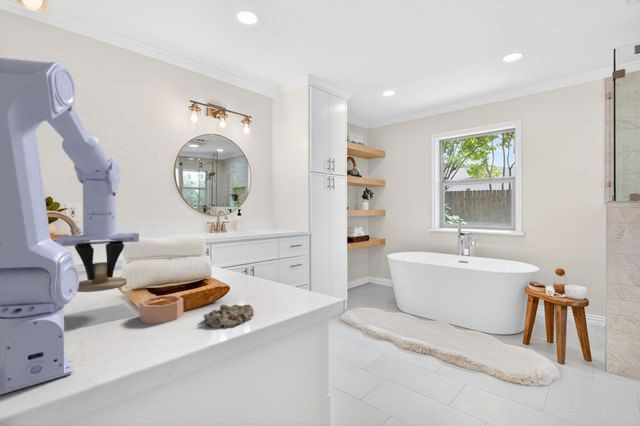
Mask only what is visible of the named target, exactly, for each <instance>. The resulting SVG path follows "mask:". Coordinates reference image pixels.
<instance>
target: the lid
mask: <svg viewBox="0 0 640 426" xmlns="http://www.w3.org/2000/svg"><path fill="white" fill-rule="evenodd" d="M93 273H94V278H93V280H88V279H84V280H81V281H80V280H79V286H78V290H77V293H93V292H102V291H109V290H114V289H119V288H121V287H125V285H127V278H125V277H117V276H113V277H110V278H109V277H108V263H107V261H106V262H102V261H101V262H93Z"/></svg>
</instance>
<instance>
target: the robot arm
mask: <svg viewBox="0 0 640 426" xmlns="http://www.w3.org/2000/svg"><path fill="white" fill-rule="evenodd" d="M75 85H76V84H75V81H74V78H73V76H72V74H71V73H70V72H69V70H68V69H67V68H66V66H65V65H64V64H63V63H61V62H58V61H51V62H47V61H38V60H37V61H36V60H28V59H17V58H7V57H0V395H1V396H2V395H3V394H8V393H10V392H15V391H17V390H20V389H23V388H28V387H31V386H34V385H38V384H42V383H45V382H48V381H52V380H54V379H57V378H61V377H64V376H69V375H71V374H73V372H74V368H73V366H72V364H71V362H70V360H69V358H68V356H67V353H66V351H65V317H64V315H65V306H66V305H68V304H69V303H70V302H71V301H72V300H73V299H74V298H75V296H76V295H77V293H78V292H77V290H78V286H79V282H80V274H79V270H78V268H77V267H76V264H75V262H74V259H73V256H72V251H71V250H69V249H68V248H66V247H72V246H74V249H75V251H76V253H77V254H78V256H79V257H80V259H81V261H82V264H83V266H84V269H85V273H86V280H93V278H94V273H93V264H94V250H95V248H93V245H101V244H102V245H104V244H105V253H106V263H108V277H109V278H110V277H114V271H115V268H116V264H117V262H118V260H119V257H120V255H121V253H122V252H123V250H124V248H125V244H124V243H132V242H133V243H138V242H140V232H127V233H126V232H124V233H122V232H120V233H117V230H116V229H117V228H116V227H117V220H116V219H117V214H116V213H117V211H116V210H117V208H116V207H117V206H116V205H117V203H116V202H117V198H116V196H117V195H116V194H117V193H118V192H119V184H120V179H121V168H120V164H119V162H118V161H117V160H115V159H113V158H111V157H109V156H108V154H107V153H106V151H105V149H104V147H103V146H102V145H101V142H100V141H99V140H98V138H97V136H96V135H94V133H92V132H89V131H86V130H85V128H84V125H83V123H82V122H81V119H80V117H79V115H78V114H77V111H76V109H75V104H76V103H75V100H76V86H75ZM44 122H47V123H48V124H49V125H50V126H51V127H52V128H53V129H54V131H55V132H56V133H57V134H59V136H60V137H61V138H62V141H61V147H62V150H63V151H64V153H65V154H66V155H67V157H68V158H69V159H70V160H71V161H72V163H73V164H74V166H73V167H74V170H75V174H76V177H77V180H78V182H80V183H81V184H82V229H83V230H82V234H77V235H64V236H63V235H62V236H55V237H54V240H53V239H52V238H51V233H50V225H49V218H48V212H47V204H46V197H45V189H44V182H43V176H42V169H41V161H40V156H39V147H38V139H37V129H38V128H39V127H40V125H41V124H42V123H44Z"/></svg>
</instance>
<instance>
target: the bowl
mask: <svg viewBox="0 0 640 426" xmlns="http://www.w3.org/2000/svg"><path fill="white" fill-rule="evenodd" d="M160 299H170V300H171V301H172V303H170V304H165V305H147V303H149V302H151V301H155V300H160ZM183 315H184V298H183V297H181V296H180V295H159V296H153V297H148V298H146V299H144V300H142V301H141V302H139V319H140V321H141V322H143V323H144V324H164V323H169V322H172V321H177V320H178V319H179V318H180V317H182V316H183Z"/></svg>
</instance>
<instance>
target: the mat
mask: <svg viewBox="0 0 640 426" xmlns="http://www.w3.org/2000/svg"><path fill="white" fill-rule="evenodd" d="M137 316H138V315H137V314H136V313H135V312H134V311H133V310H131V309H130V308H129V307H127V306H126V305H125V304H124V303H121V304H116V305H110V306H105V307H100V308H94V309H90V310H84V311H78V312H72V313H67V314H64V319H65V320H66V322H67V323H68V324H69V326H70V328H71V330H77V329H82V328H87V327H90V326H96V325H101V324H105V323H109V322H114V321H119V320H123V319H129V318H133V317H137Z"/></svg>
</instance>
